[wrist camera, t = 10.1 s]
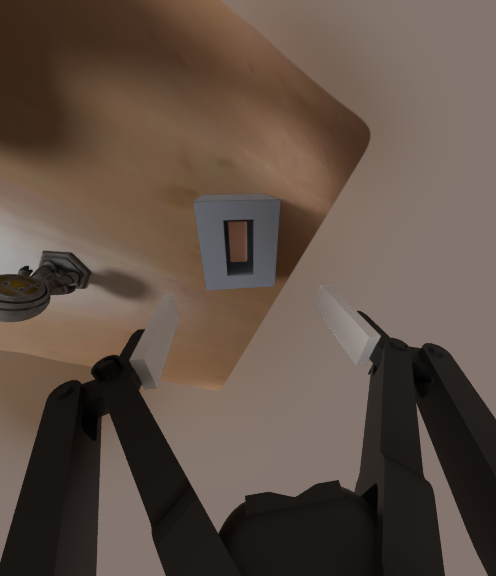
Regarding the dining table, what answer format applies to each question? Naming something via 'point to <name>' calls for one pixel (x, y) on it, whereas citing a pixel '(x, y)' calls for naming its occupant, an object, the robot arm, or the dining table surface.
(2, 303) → the figurine
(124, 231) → the dining table surface
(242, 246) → the peach rectangular block
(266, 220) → the coin box
